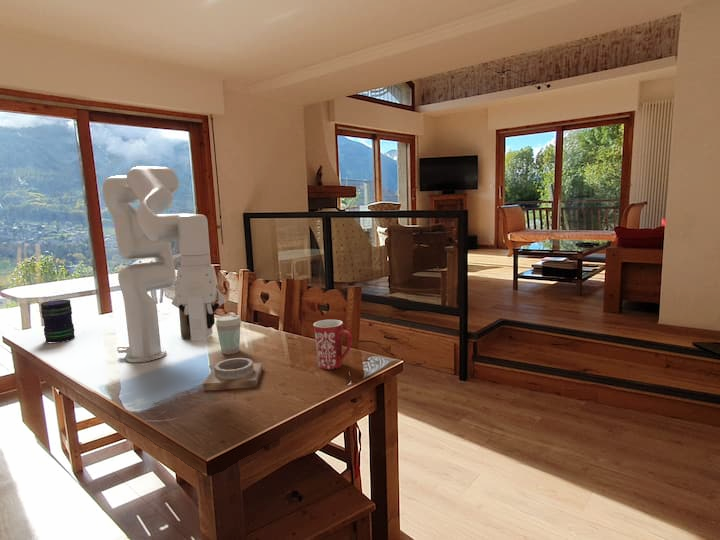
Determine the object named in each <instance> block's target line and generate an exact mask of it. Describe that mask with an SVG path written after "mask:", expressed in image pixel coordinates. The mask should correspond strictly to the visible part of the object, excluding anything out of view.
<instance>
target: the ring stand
mask: <svg viewBox="0 0 720 540" xmlns="http://www.w3.org/2000/svg"><path fill="white" fill-rule="evenodd" d="M262 371H263V362H254V361H253V360H252V359H250V358H245V357H235V358H234V357H233V358H228V359H224V360H221V361H219V362H216V363H215V365H214V367H213V368H212V369H211V371H210V373H209V374H208V376H207V377H206V379H205V380H204V383H203V391H204V392H206V391H219V390H221V391H222V390H231V389H232V390H234V389H249V388H257V387H258V383H259V381H260V378H261V375H262Z"/></svg>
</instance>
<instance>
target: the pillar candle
mask: <svg viewBox="0 0 720 540" xmlns="http://www.w3.org/2000/svg"><path fill="white" fill-rule="evenodd" d="M178 313H179V325H180V326H179V327H180V328H179V329H180V337H181V338H182V339H185V340H191V333H190V329H189V326H187V320H186V315H185V314H184V312H182V311H181V310H180V309H179V308H178Z"/></svg>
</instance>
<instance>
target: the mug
mask: <svg viewBox="0 0 720 540" xmlns="http://www.w3.org/2000/svg"><path fill="white" fill-rule="evenodd" d="M343 324H344V323H343V321H342V320H340V319H339V320H338V319H323V320H318V321H315V322H314V323H313V324H312V325H313V328H314V337H315V347H316V353H317V354H316V355H317V364H318V367H319V368H320V369H321V368H322V370H335V368H336V369H339V368H341V367H342V366H343V360H344V359H345V357H346V356H347V354H348V353H349V352H350V349H351V348H352V344H353V335H352V333H351V332H350V331H349V330H346V329H345V330H344V329H343ZM343 334H344V335H346V336H347V341H348V343H347V344H348V345H347V347H346V349H345V350H344V352H343Z"/></svg>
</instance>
